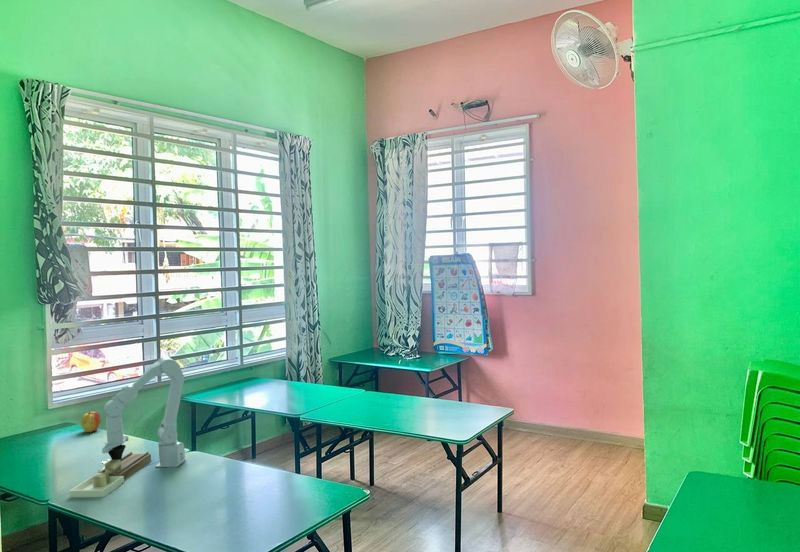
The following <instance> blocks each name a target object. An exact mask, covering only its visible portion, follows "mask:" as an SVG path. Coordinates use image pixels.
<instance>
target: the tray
mask: <svg viewBox="0 0 800 552" xmlns="http://www.w3.org/2000/svg"><path fill="white" fill-rule="evenodd" d="M93 476H94V475H93ZM93 476H90V477H88V478H87V479H85V480H84V481H82V482H81V483H79V484H78V485H76V486H74V487H73V488H71V489H70V490H68V491H69V492H68V493H69V498H104V497H106V496H107V495H109V494H111V492H113V491H114V490H115V489H117V488H119V487H120V486H121V485H123V484H124V483H125V480H124V476H109V482H110V483H109V484H107V485H106V486H104V487H93V479H92V477H93ZM122 483H123V484H122ZM118 486H119V487H118Z"/></svg>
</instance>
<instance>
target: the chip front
mask: <svg viewBox="0 0 800 552" xmlns="http://www.w3.org/2000/svg"><path fill="white" fill-rule="evenodd" d="M91 477H92V476H91ZM92 479H93V487H104V486H106V485H107V484H109V483H110V482H109V473H96V474H95V475H93V477H92Z"/></svg>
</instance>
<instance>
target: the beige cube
mask: <svg viewBox="0 0 800 552" xmlns="http://www.w3.org/2000/svg"><path fill="white" fill-rule="evenodd" d="M104 467H105V473H109V474H115V473H116V472H117V471H119V470H120V469H121V460H112V459H110V461H108V460H107V462H106V463H105V465H104Z"/></svg>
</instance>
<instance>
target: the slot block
mask: <svg viewBox="0 0 800 552" xmlns="http://www.w3.org/2000/svg"><path fill="white" fill-rule="evenodd" d="M151 461H152V455H151V453H149V451H146V452H144V453H133V452H132V451H130V452H128V453H127V454H125V455H123V456H122V459H121V469H120V470H119V471H117V472H116V473H115V474H109V476H124V481H125V480H126V479H127V477H128V478H129V477H130V476H132V475H133V474H135V473H136V472H138V470H141V469H142V468H143V467H145V466H146V465H147V464H149V463H150V462H151ZM98 473H105V469H103V470H102V471H100V472H99V471H98ZM98 473H97V474H98Z"/></svg>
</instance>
